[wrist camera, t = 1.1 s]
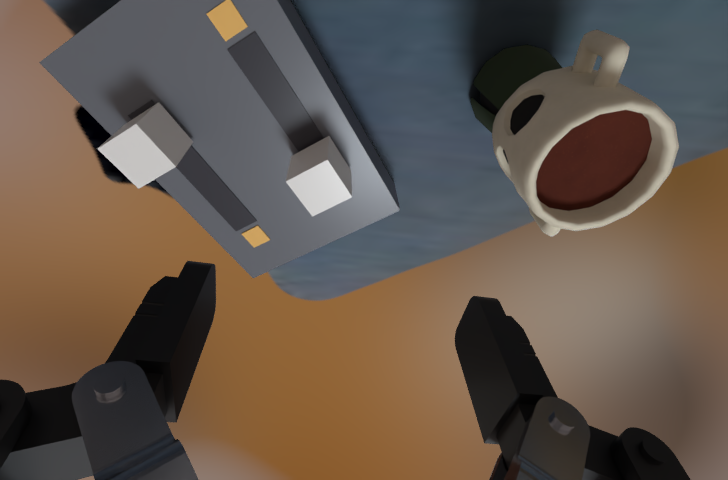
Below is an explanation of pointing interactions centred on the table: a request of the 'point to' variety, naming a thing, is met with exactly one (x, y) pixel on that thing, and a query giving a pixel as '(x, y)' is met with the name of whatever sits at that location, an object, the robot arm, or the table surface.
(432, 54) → the table surface
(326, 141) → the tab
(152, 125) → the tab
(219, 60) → the switch box
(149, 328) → the robot arm
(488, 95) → the character mug
